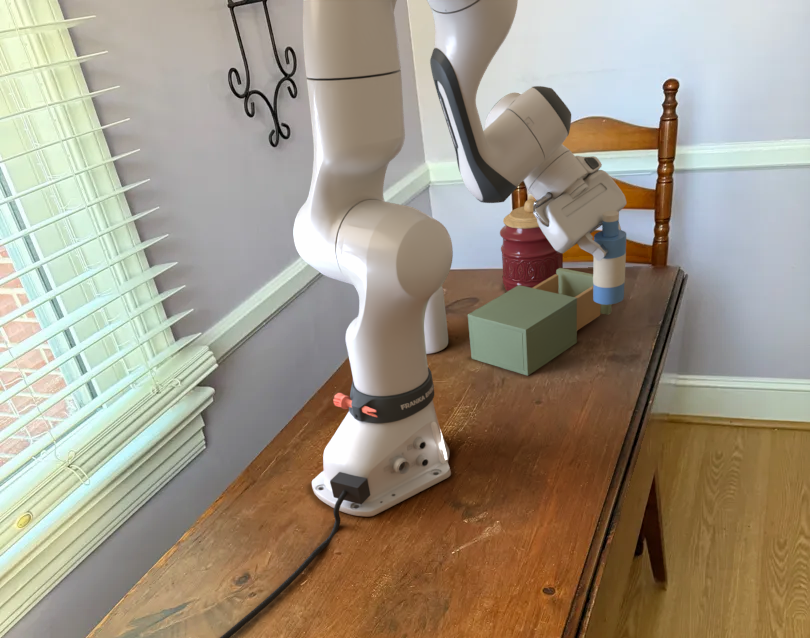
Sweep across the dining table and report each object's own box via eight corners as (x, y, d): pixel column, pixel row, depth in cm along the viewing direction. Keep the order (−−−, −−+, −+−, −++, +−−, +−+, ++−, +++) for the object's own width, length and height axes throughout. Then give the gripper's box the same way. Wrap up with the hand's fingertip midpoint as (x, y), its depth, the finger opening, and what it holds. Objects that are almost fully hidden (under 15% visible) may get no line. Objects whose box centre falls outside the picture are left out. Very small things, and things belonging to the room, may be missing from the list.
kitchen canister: (521, 270, 176) (517, 188, 165) (574, 276, 170) (574, 191, 159) (491, 293, 169) (486, 208, 158) (546, 300, 162) (544, 212, 151)
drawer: (572, 293, 161) (572, 260, 156) (623, 304, 153) (624, 270, 149) (518, 327, 152) (516, 292, 148) (569, 340, 145) (569, 304, 141)
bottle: (612, 307, 134) (615, 220, 125) (586, 301, 137) (587, 216, 128) (630, 295, 137) (634, 209, 128) (604, 290, 140) (606, 206, 131)
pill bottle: (456, 339, 154) (448, 263, 144) (436, 357, 149) (426, 280, 139) (422, 334, 157) (412, 260, 148) (400, 352, 152) (389, 277, 143)
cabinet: (520, 328, 154) (518, 284, 148) (576, 342, 146) (577, 297, 140) (471, 358, 146) (467, 314, 141) (527, 375, 138) (525, 329, 133)
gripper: (540, 191, 122) (596, 261, 123) (601, 153, 134) (652, 217, 134) (516, 218, 127) (571, 284, 128) (577, 179, 139) (627, 240, 140)
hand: (613, 250), depth 131 cm, fingers closed on bottle, 5 cm apart
